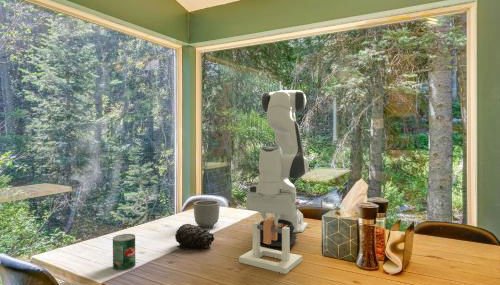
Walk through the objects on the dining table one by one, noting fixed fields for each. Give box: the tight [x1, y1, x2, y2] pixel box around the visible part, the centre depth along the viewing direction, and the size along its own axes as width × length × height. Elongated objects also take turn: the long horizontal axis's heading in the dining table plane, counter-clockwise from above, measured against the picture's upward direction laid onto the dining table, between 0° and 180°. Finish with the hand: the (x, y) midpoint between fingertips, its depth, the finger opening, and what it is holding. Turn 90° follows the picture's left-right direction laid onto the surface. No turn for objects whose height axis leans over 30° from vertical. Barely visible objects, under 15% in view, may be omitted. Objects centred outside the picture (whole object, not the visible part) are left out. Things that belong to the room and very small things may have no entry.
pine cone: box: [174, 223, 215, 251], centre depth 138 cm, size 10×18×10 cm, turn 82°
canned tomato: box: [112, 233, 136, 272], centre depth 117 cm, size 8×8×11 cm
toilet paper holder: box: [238, 221, 303, 275], centre depth 120 cm, size 20×14×14 cm
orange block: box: [262, 216, 277, 245], centre depth 120 cm, size 6×2×8 cm, turn 147°
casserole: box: [260, 219, 297, 247], centre depth 145 cm, size 25×19×8 cm
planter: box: [192, 199, 221, 230], centre depth 168 cm, size 14×14×13 cm
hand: (270, 224), depth 120 cm, fingers closed on orange block, 2 cm apart
